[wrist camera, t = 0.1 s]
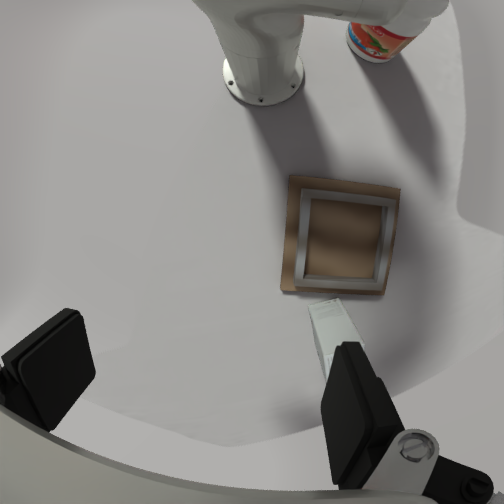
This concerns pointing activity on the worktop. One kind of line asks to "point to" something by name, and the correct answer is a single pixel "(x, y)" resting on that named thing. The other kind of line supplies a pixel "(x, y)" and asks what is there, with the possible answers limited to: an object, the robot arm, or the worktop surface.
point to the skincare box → (331, 330)
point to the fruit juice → (393, 31)
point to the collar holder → (338, 236)
